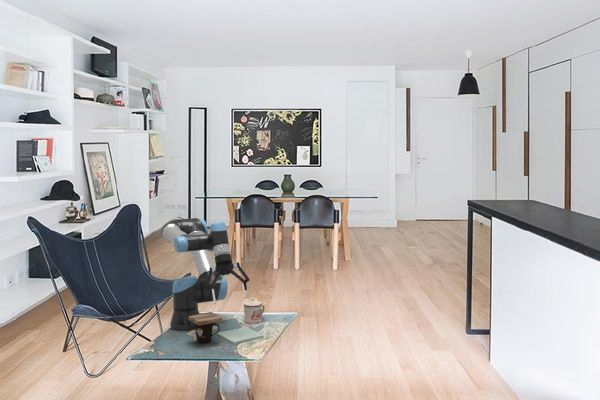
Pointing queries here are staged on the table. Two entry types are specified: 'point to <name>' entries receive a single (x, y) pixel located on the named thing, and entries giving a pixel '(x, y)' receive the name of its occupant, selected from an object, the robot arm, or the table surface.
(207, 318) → the walnut lid
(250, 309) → the teacup with lid
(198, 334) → the coffee mug
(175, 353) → the table surface
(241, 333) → the sage mat
